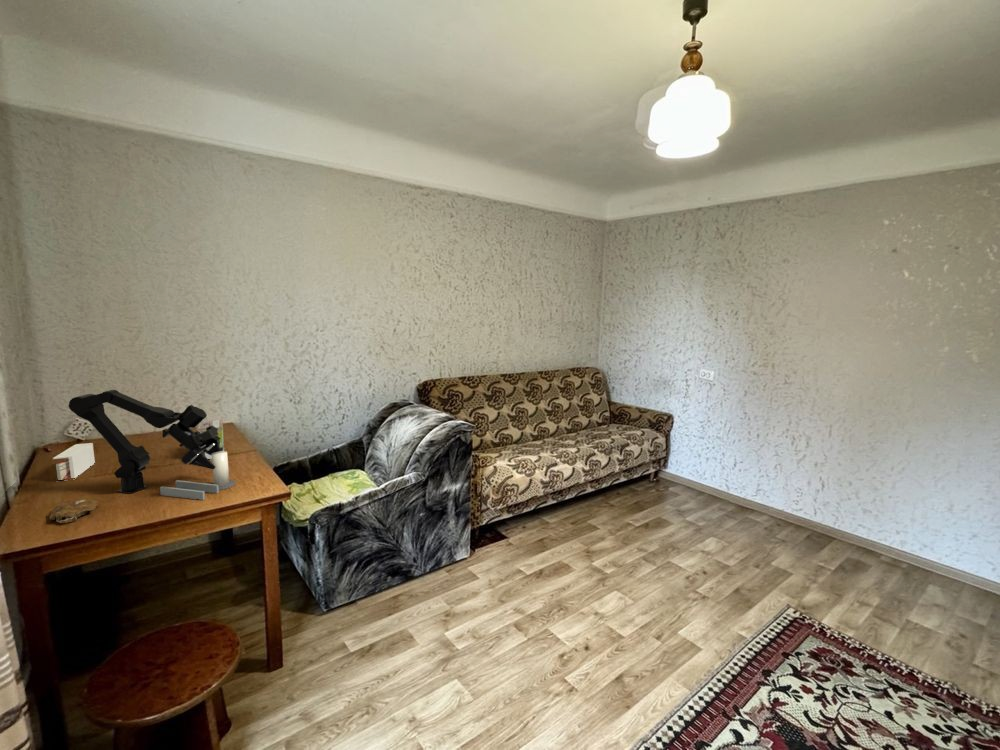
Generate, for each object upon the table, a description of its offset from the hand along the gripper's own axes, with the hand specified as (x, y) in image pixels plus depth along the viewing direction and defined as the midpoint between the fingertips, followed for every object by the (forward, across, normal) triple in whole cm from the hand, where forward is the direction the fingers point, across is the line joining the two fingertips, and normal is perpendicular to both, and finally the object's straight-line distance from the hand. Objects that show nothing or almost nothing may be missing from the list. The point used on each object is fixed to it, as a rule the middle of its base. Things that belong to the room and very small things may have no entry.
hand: (220, 464), depth 167 cm
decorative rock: (-18, -20, +32) cm, 42 cm away
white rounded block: (+6, 0, +6) cm, 8 cm away
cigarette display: (-38, +21, +51) cm, 67 cm away
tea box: (-8, +39, +21) cm, 45 cm away
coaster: (+6, 0, +6) cm, 9 cm away
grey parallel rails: (+1, -7, +12) cm, 13 cm away
